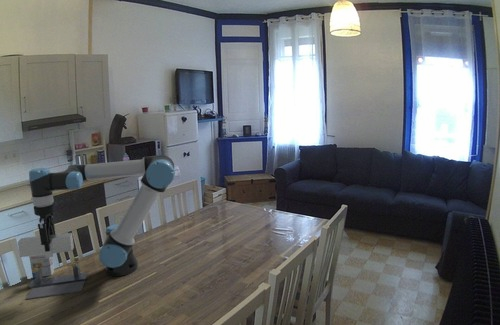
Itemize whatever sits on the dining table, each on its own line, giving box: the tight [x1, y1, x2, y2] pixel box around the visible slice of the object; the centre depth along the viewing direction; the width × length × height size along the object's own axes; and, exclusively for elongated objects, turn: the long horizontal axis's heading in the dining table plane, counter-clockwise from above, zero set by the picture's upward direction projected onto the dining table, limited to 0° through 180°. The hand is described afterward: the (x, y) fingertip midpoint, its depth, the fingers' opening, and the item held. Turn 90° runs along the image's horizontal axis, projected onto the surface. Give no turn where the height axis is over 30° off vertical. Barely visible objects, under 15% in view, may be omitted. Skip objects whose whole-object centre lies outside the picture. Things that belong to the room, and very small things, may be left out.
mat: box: [25, 280, 86, 301], centre depth 153 cm, size 22×8×1 cm, turn 105°
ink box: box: [28, 254, 55, 279], centre depth 165 cm, size 8×5×12 cm, turn 105°
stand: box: [27, 256, 89, 290], centre depth 159 cm, size 24×6×10 cm, turn 105°
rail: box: [17, 232, 75, 258], centre depth 148 cm, size 20×4×7 cm, turn 105°
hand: (50, 254), depth 149 cm, fingers closed on rail, 4 cm apart
